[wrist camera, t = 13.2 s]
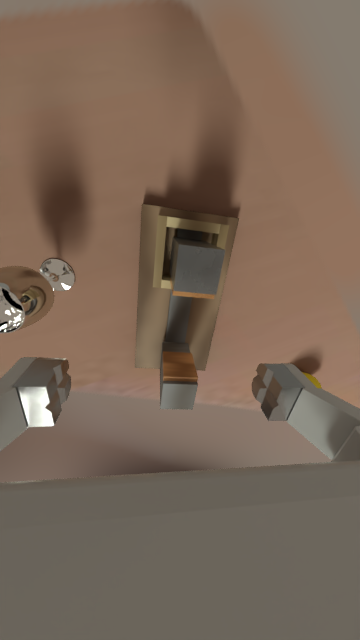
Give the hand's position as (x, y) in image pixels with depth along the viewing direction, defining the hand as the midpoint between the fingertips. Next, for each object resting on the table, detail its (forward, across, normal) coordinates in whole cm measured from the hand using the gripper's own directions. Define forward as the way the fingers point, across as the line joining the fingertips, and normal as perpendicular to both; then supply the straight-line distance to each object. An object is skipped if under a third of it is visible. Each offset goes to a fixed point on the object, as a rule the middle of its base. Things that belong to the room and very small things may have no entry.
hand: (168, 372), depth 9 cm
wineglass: (+23, +13, +2) cm, 27 cm away
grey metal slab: (+20, -3, -2) cm, 20 cm away
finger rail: (+22, -4, +5) cm, 23 cm away
